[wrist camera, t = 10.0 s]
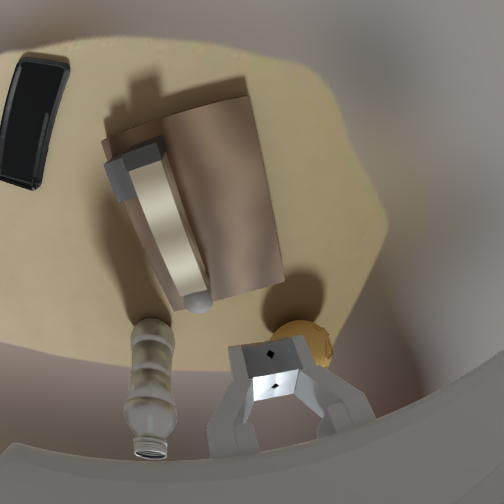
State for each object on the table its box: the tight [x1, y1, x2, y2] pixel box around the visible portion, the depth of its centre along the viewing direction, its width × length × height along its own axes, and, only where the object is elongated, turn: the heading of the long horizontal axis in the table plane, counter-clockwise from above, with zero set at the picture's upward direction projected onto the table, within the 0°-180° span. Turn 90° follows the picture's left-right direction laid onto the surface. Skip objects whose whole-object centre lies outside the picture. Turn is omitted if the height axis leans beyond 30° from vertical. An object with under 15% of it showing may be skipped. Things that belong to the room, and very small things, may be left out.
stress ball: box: [270, 320, 333, 369], centre depth 41 cm, size 10×10×10 cm
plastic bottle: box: [124, 318, 177, 459], centre depth 32 cm, size 6×7×20 cm
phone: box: [0, 57, 70, 191], centre depth 21 cm, size 8×1×15 cm
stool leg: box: [121, 135, 213, 314], centre depth 28 cm, size 19×3×4 cm, turn 12°
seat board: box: [101, 95, 285, 311], centre depth 30 cm, size 15×23×5 cm, turn 12°
